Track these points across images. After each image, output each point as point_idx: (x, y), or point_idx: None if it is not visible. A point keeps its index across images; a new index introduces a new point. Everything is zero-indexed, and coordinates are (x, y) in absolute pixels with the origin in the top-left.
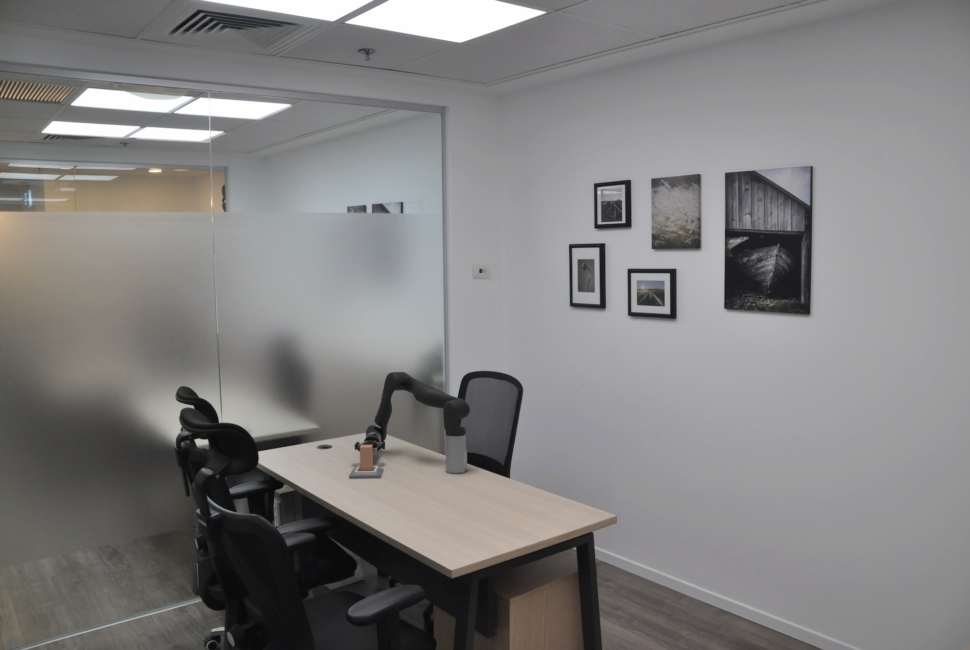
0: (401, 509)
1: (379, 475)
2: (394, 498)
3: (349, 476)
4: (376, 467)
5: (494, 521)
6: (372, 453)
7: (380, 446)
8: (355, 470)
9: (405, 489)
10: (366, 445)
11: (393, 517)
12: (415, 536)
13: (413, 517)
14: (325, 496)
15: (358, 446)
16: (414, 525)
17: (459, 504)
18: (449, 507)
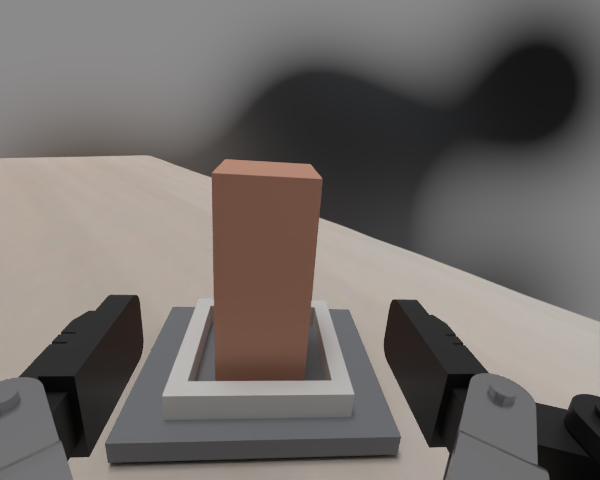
0: (162, 195)
1: (178, 308)
2: (163, 216)
3: (346, 312)
4: (184, 361)
5: (17, 172)
6: (214, 252)
7: (31, 367)
8: (329, 317)
9: (104, 243)
10: (268, 171)
11: (185, 186)
12: (165, 170)
13: (149, 184)
14: (350, 232)
15: (472, 367)
16: (157, 177)
17: (18, 195)
18: (54, 192)
